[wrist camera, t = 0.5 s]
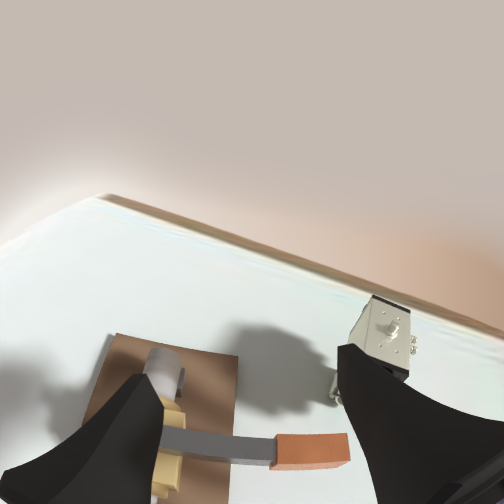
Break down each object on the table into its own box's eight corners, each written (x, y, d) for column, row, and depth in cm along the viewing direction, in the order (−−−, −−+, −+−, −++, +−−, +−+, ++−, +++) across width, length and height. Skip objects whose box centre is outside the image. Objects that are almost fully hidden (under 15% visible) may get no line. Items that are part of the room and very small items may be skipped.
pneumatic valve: (310, 424, 25) (365, 363, 19) (337, 348, 35) (378, 278, 28) (356, 439, 24) (424, 385, 17) (373, 363, 33) (421, 297, 26)
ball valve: (221, 588, 9) (232, 610, 5) (59, 546, 8) (19, 545, 4) (236, 362, 31) (247, 320, 27) (118, 339, 30) (107, 293, 25)
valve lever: (117, 448, 14) (110, 439, 13) (125, 417, 16) (119, 405, 15) (337, 470, 15) (350, 462, 14) (334, 440, 17) (346, 430, 16)
